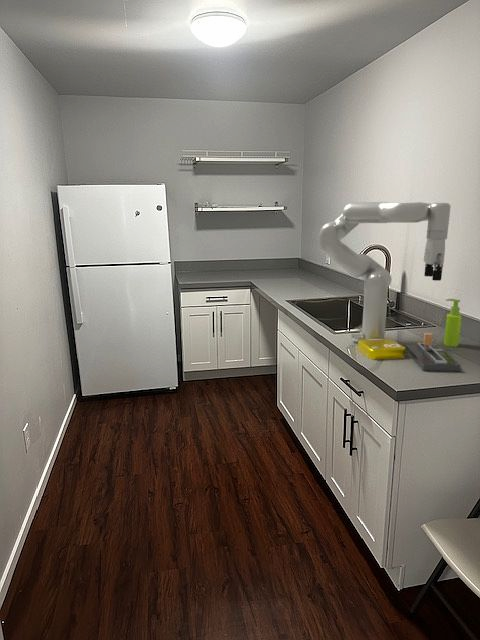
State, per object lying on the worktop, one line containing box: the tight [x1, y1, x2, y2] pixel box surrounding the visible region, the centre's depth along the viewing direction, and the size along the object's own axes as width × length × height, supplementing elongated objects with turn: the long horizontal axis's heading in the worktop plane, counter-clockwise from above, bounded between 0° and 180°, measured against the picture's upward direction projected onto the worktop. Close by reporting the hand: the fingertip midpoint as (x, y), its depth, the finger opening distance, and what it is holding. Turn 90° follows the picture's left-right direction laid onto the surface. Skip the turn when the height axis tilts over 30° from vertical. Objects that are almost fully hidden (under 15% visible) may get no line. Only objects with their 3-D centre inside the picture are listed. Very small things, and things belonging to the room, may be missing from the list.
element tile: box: [357, 337, 406, 361], centre depth 186 cm, size 15×15×5 cm
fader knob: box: [422, 332, 434, 351], centre depth 181 cm, size 3×4×6 cm
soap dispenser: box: [443, 298, 463, 348], centre depth 194 cm, size 6×7×20 cm
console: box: [404, 342, 461, 373], centre depth 177 cm, size 13×24×4 cm, turn 176°
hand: (432, 278), depth 182 cm, fingers open, 9 cm apart
